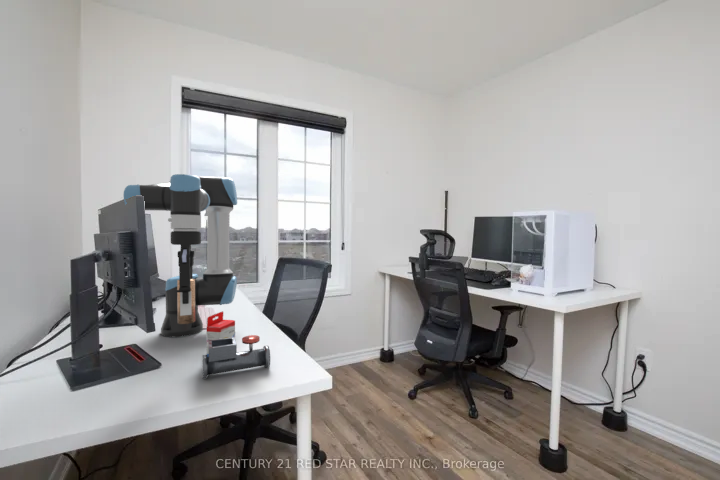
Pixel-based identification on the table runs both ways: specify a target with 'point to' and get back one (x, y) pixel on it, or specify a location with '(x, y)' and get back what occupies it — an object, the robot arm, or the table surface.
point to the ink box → (219, 328)
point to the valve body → (234, 356)
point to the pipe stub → (191, 318)
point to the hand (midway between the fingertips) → (186, 312)
